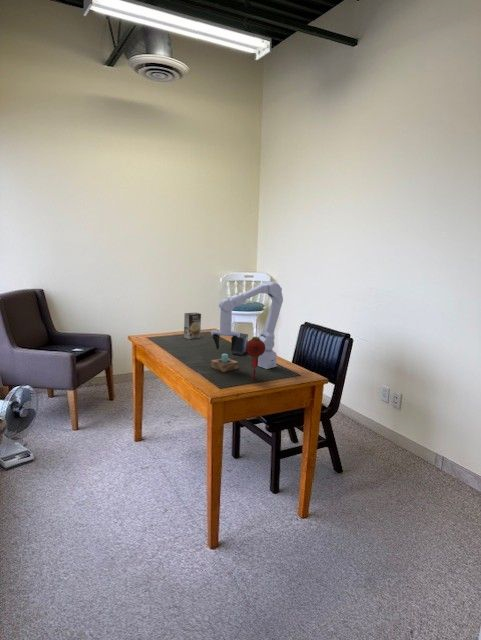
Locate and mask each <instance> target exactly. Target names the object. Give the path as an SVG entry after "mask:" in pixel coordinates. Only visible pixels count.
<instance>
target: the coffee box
mask: <svg viewBox="0 0 481 640" xmlns="http://www.w3.org/2000/svg"><path fill="white" fill-rule="evenodd" d="M183 319H184V324H183V326H184V327H183V338H185V339H187V340H193V339H200V338H201V331H202V326H201V325H202V314H201V313H199V312H185V313H184V317H183Z"/></svg>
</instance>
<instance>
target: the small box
mask: <svg viewBox="0 0 481 640" xmlns="http://www.w3.org/2000/svg"><path fill="white" fill-rule="evenodd" d="M239 333H240V337H238V338H237V340H236V343H235V345H234V350H233V351H231V354H232V355H238V356H243V355H244V354H246V353H247V351H246V344H247V342H248V341H249V334H248V333H247V334H246V333H242V332H239Z"/></svg>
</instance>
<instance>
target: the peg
mask: <svg viewBox="0 0 481 640" xmlns="http://www.w3.org/2000/svg"><path fill="white" fill-rule="evenodd" d="M221 358H222V363H227V362H228V358H229V354H228V353H222V354H221Z"/></svg>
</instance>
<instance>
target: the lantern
mask: <svg viewBox="0 0 481 640" xmlns="http://www.w3.org/2000/svg"><path fill="white" fill-rule="evenodd" d="M255 322H256V326H255V329H256V330H255V334H257V333H258V332H257V330H258V320H256V321H255ZM246 351H247V352H246V353H247V354H248V355H250V357H251V367H252V368H253V369H252V371H253V372H252V379H253V380H255V379H256V374H257V373H256V371H257V370H256V368H257V367H259V366H258V358H259V356H260V355H262V354H263V353H264V352H265V344H264V342H263V341H261V340H260V338H259V336H253V337H251V338H250V339H248V342H247V344H246Z"/></svg>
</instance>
